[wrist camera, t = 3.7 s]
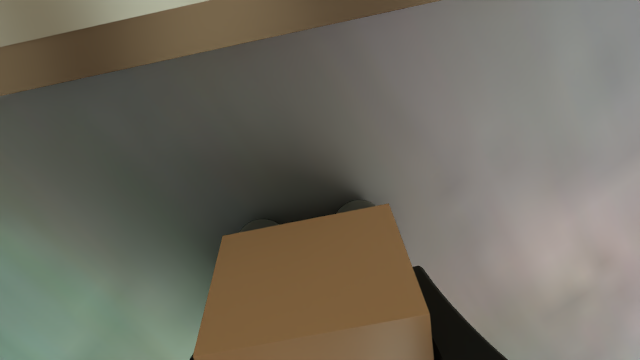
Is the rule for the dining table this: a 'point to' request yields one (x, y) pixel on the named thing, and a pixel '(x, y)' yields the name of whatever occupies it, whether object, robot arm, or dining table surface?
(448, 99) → the dining table surface
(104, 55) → the dock
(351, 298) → the toy cart
